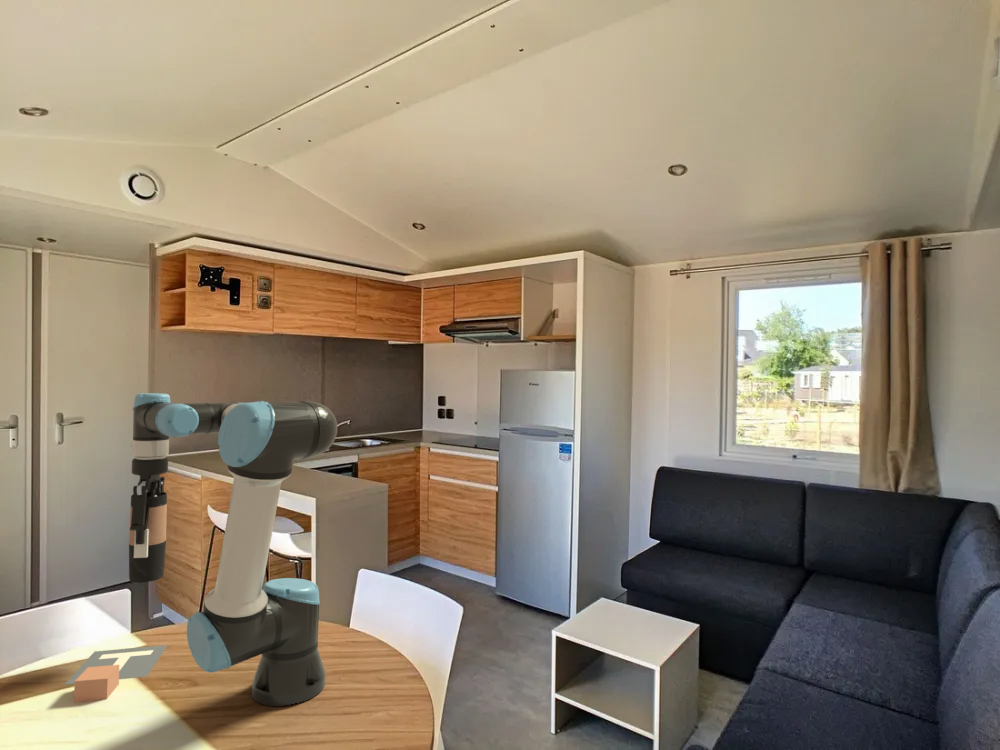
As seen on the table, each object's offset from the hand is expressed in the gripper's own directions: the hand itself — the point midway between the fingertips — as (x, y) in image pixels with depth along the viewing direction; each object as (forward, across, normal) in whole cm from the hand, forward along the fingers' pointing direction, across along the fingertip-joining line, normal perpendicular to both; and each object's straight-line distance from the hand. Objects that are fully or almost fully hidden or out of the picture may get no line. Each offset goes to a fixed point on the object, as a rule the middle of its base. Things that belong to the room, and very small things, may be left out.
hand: (147, 551), depth 140 cm
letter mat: (+25, +3, -4) cm, 26 cm away
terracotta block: (+26, +16, -3) cm, 31 cm away
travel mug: (+6, 0, 0) cm, 6 cm away
